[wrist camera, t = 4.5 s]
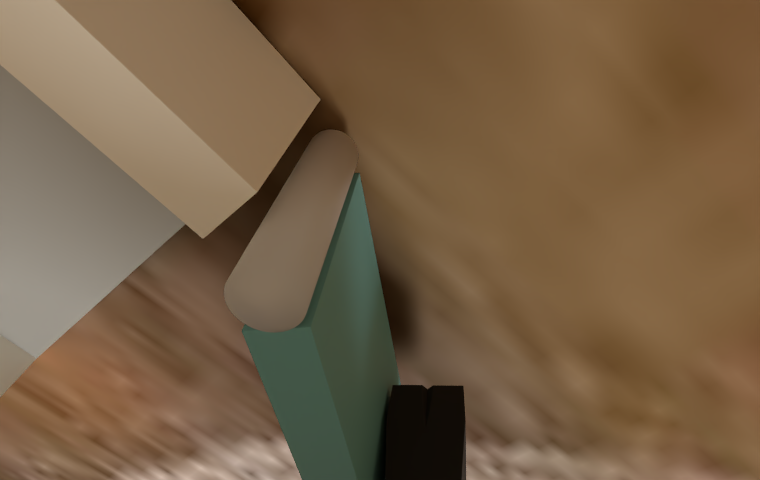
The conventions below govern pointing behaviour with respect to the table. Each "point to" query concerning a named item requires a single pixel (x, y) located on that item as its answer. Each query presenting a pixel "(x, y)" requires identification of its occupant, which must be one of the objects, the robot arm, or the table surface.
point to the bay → (123, 145)
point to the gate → (320, 316)
